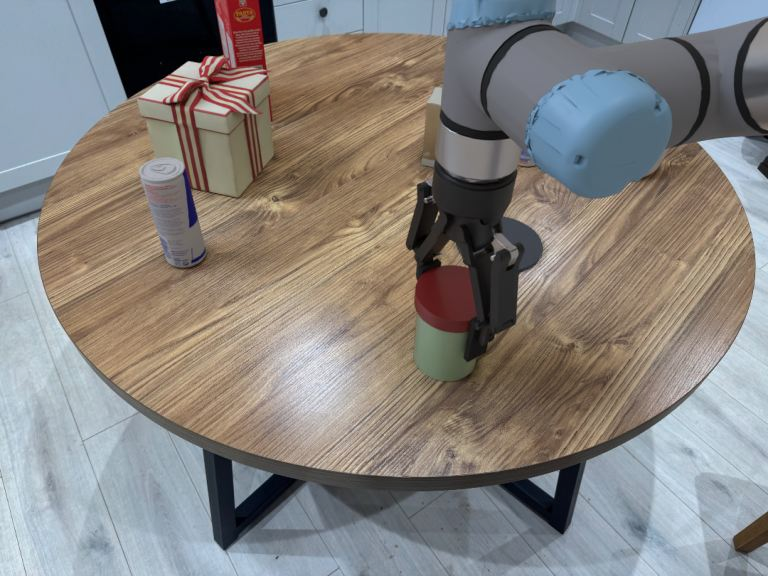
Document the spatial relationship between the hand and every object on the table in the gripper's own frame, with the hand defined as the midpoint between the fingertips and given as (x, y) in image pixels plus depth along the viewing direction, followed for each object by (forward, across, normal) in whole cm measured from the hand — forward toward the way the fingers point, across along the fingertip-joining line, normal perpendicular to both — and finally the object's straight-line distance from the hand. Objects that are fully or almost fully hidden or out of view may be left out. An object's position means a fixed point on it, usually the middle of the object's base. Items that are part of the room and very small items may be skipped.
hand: (449, 328), depth 67 cm
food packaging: (+5, +72, -5) cm, 72 cm away
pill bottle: (+5, +29, -40) cm, 50 cm away
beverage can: (+5, +34, +21) cm, 40 cm away
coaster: (+5, +13, -20) cm, 24 cm away
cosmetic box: (+5, +37, -26) cm, 46 cm away
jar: (+5, 0, 0) cm, 5 cm away
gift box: (+5, +53, +7) cm, 54 cm away
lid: (-6, 0, 0) cm, 6 cm away
